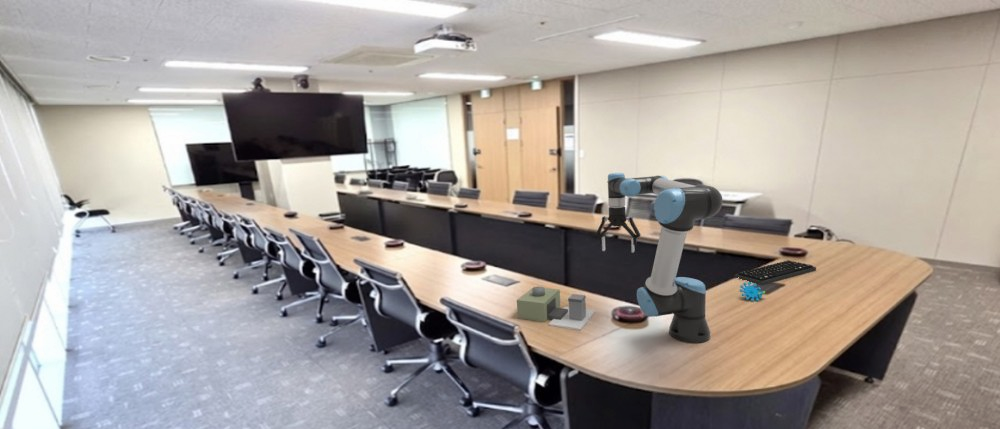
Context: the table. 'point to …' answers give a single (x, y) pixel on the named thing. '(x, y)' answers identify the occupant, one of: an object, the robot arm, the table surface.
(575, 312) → the gray lidded box
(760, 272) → the computer keyboard
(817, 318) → the table surface
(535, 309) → the green knobbed box
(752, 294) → the blue virus model
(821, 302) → the table surface
